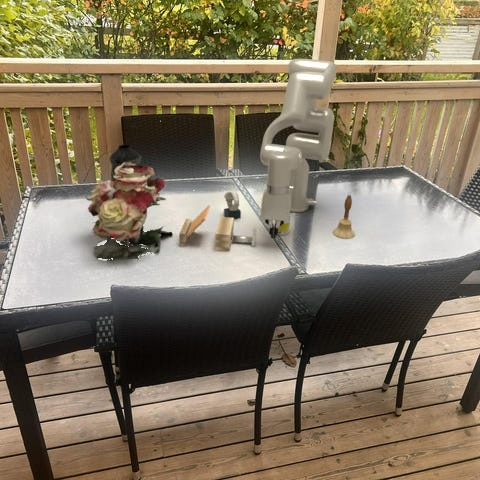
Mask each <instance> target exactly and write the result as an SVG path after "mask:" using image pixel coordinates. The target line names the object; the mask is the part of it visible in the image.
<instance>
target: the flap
mask: <svg viewBox="0 0 480 480" xmlns="http://www.w3.org/2000/svg"><path fill="white" fill-rule="evenodd" d="M210 209H211V205H207V206H206V207H205V208H204V209H203V210H202V211H201V212H200V214H198V215H197V216H196V218H195V219H194V220H191V225H190V228H189V230H188V233H187V235H186V237H187V238H188V237H189V238H190V236H191V235H193V234H192V233H194V232H195V231H196V230H197V229H198V228H199V227H200V226H201V225H202V224H203V223H204V222H205V221H206V219H207V217H208V214H209V212H210ZM189 238H188V239H189Z"/></svg>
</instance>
